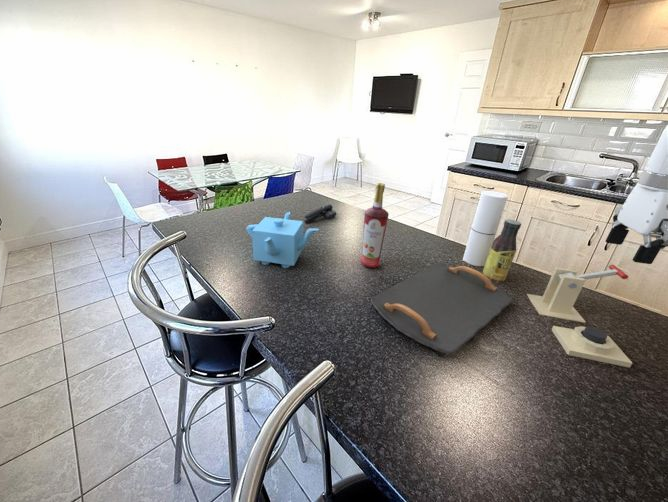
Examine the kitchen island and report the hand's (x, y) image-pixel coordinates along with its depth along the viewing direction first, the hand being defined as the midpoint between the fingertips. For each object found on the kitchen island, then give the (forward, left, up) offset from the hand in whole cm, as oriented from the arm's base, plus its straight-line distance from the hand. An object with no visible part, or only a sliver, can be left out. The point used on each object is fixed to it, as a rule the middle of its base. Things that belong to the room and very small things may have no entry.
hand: (626, 252), depth 69 cm
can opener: (+78, -53, -20) cm, 96 cm away
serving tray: (+39, +3, -20) cm, 43 cm away
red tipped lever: (+4, -1, -9) cm, 10 cm away
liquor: (+57, -16, -20) cm, 62 cm away
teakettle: (+87, -14, -20) cm, 90 cm away
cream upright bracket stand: (+9, -1, -20) cm, 21 cm away
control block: (+10, +13, -20) cm, 25 cm away
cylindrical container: (+21, -24, -20) cm, 37 cm away
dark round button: (+10, +13, -16) cm, 23 cm away
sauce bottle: (+19, -14, -20) cm, 31 cm away
